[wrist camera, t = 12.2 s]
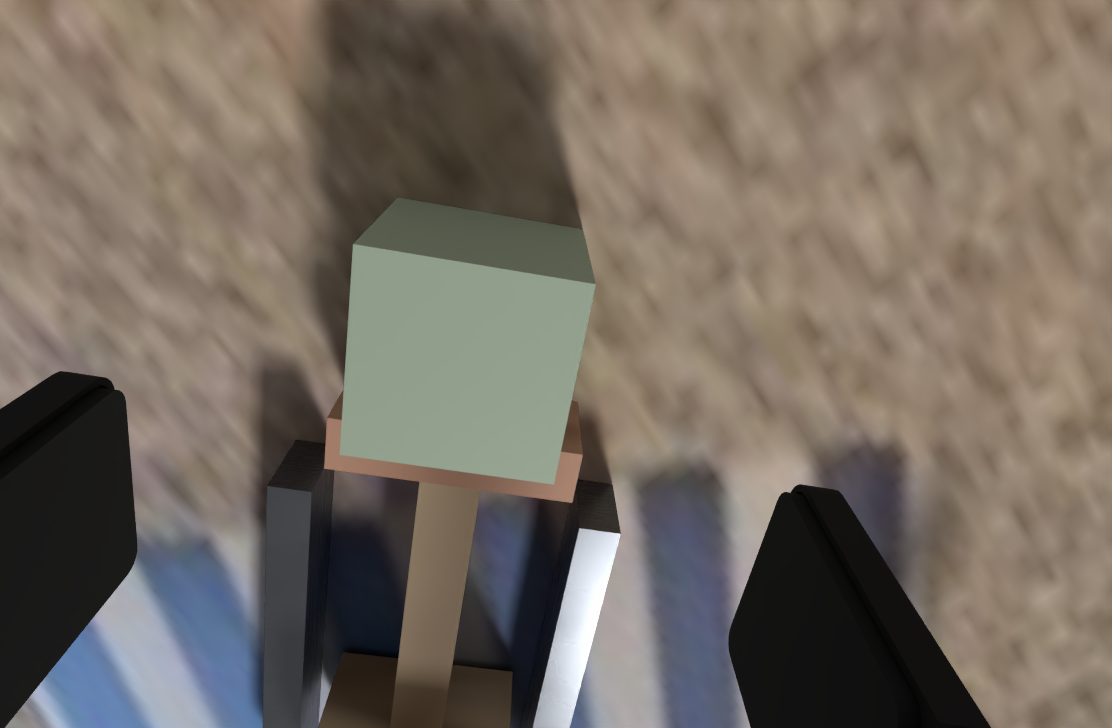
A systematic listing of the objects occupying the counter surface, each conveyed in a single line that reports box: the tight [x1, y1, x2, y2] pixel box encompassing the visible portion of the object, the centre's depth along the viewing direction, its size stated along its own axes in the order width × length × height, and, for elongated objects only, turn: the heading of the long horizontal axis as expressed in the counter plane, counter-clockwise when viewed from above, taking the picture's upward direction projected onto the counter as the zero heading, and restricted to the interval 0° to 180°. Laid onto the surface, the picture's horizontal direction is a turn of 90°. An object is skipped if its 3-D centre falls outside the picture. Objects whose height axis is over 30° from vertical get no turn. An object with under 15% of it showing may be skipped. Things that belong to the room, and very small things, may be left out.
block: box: [340, 197, 596, 485], centre depth 18 cm, size 5×5×5 cm
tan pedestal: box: [318, 390, 583, 728], centre depth 21 cm, size 6×14×6 cm, turn 170°
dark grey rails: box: [263, 440, 621, 728], centre depth 24 cm, size 10×14×2 cm
